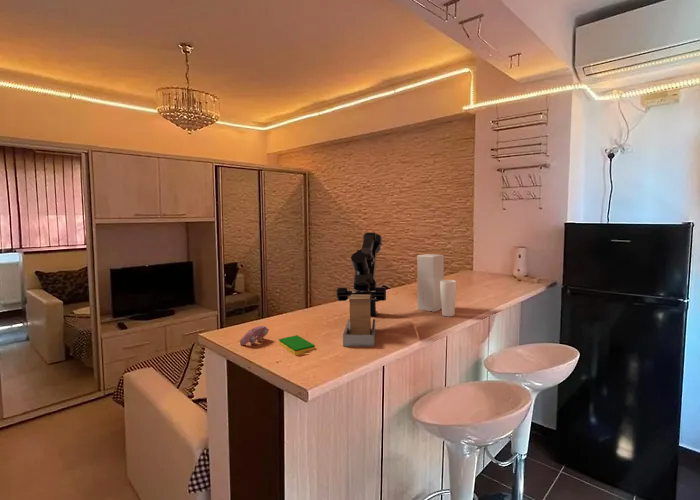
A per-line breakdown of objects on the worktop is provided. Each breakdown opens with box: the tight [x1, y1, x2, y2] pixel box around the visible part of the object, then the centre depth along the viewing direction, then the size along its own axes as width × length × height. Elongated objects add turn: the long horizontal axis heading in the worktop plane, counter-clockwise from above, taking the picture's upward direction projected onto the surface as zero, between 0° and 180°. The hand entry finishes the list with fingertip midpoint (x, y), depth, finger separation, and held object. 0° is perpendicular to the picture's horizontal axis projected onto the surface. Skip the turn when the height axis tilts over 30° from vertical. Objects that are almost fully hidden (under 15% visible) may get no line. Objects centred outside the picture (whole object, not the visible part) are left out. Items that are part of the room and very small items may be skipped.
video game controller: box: [239, 325, 270, 346], centre depth 137 cm, size 10×5×7 cm, turn 149°
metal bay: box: [342, 318, 376, 348], centre depth 138 cm, size 20×10×5 cm, turn 175°
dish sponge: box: [278, 334, 316, 356], centre depth 131 cm, size 7×14×2 cm, turn 33°
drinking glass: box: [440, 279, 457, 318], centre depth 167 cm, size 7×7×15 cm
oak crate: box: [348, 294, 372, 335], centre depth 140 cm, size 7×7×14 cm
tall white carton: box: [416, 253, 445, 313], centre depth 179 cm, size 9×9×25 cm
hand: (360, 313), depth 144 cm, fingers closed, pressing on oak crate
